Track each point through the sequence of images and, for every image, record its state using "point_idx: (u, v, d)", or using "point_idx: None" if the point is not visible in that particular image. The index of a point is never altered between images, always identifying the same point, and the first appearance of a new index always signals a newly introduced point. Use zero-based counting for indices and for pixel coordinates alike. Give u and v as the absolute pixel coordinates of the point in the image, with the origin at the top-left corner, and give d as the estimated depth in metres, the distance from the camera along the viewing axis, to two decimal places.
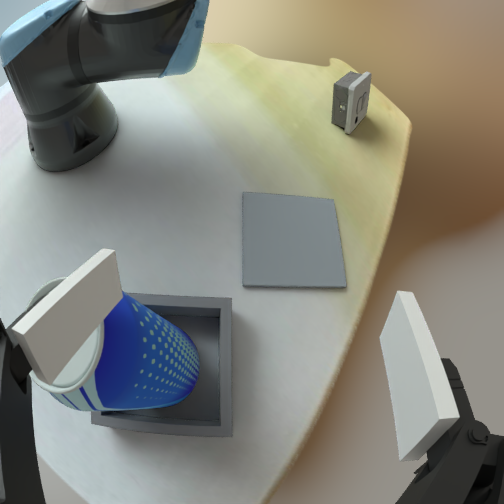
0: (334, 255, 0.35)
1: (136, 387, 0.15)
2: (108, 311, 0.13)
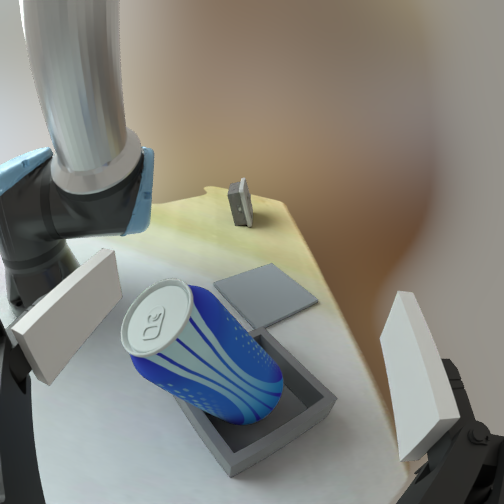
0: (297, 288, 0.49)
1: (229, 322, 0.22)
2: (108, 311, 0.13)
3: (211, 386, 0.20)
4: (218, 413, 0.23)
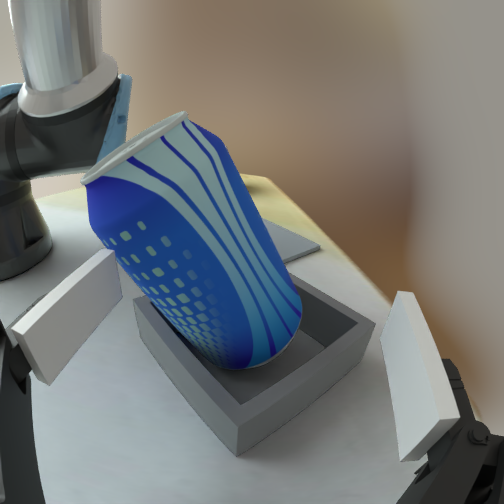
0: (294, 236, 0.43)
1: None
2: (108, 311, 0.13)
3: (207, 238, 0.13)
4: (214, 328, 0.16)
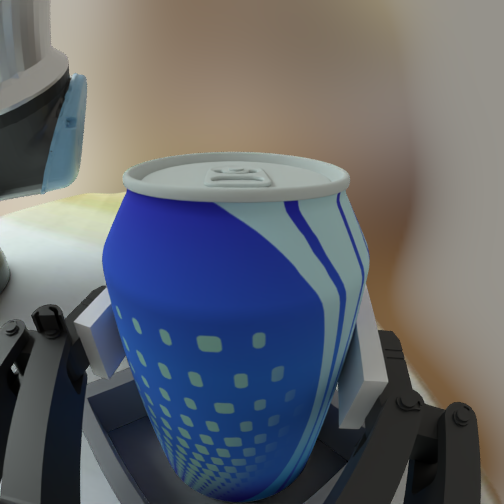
0: None
1: None
2: None
3: (323, 376, 0.08)
4: (242, 472, 0.09)
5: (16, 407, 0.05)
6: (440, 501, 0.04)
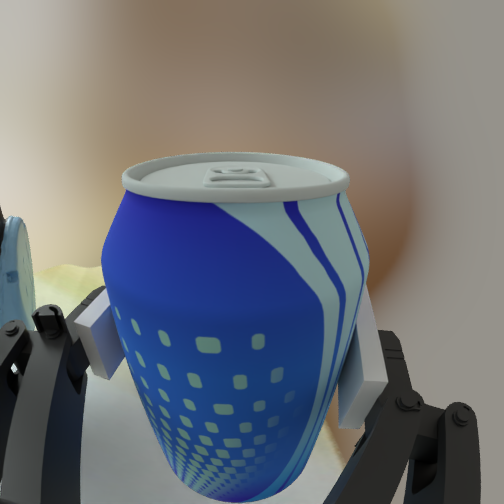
0: None
1: None
2: None
3: (322, 378, 0.08)
4: (242, 472, 0.09)
5: (16, 407, 0.05)
6: (440, 501, 0.04)
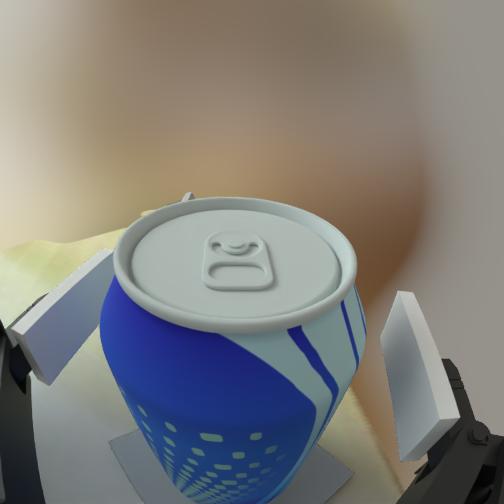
0: None
1: None
2: None
3: (311, 439, 0.08)
4: (236, 496, 0.10)
5: None
6: None
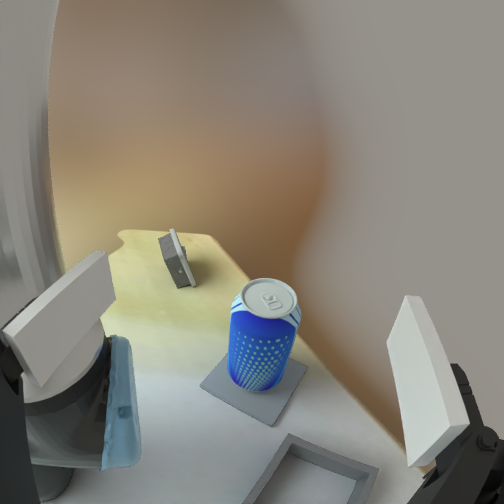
0: None
1: None
2: (100, 313, 0.13)
3: (293, 339, 0.36)
4: (274, 372, 0.37)
5: None
6: None
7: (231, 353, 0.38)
